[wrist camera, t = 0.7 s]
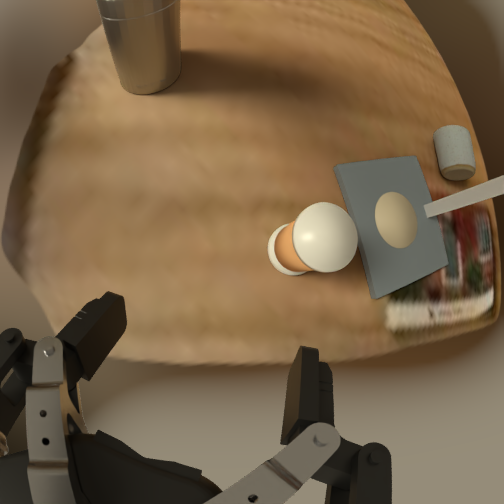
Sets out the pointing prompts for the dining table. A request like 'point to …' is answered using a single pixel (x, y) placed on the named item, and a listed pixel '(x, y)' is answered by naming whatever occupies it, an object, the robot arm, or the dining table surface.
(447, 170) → the ceramic mug
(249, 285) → the dining table surface
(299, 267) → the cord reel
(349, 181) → the stand
